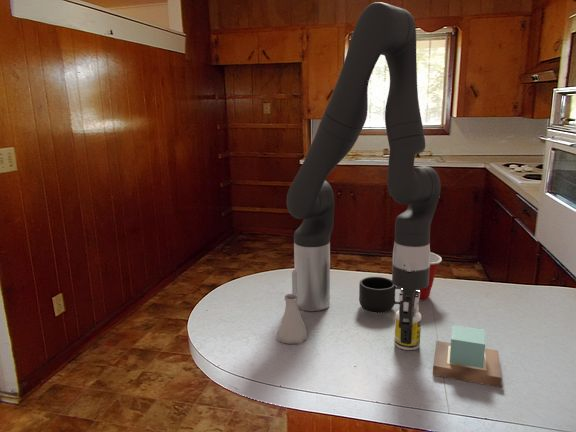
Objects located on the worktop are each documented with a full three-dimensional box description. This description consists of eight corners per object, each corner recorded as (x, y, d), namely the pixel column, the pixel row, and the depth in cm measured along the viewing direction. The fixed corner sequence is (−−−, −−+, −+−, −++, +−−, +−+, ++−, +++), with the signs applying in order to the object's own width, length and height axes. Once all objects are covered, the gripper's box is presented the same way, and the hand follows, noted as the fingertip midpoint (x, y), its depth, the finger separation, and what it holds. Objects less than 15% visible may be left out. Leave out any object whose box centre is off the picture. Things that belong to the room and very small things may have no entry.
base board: (432, 374, 87) (433, 365, 86) (435, 349, 96) (436, 340, 95) (500, 387, 82) (501, 377, 82) (497, 359, 91) (498, 349, 91)
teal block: (449, 362, 87) (451, 339, 86) (450, 347, 92) (452, 325, 91) (483, 368, 85) (485, 344, 84) (482, 352, 90) (484, 329, 89)
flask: (311, 331, 104) (311, 291, 102) (302, 347, 98) (302, 305, 95) (282, 327, 107) (281, 288, 104) (271, 342, 100) (270, 301, 98)
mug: (357, 314, 112) (357, 288, 111) (360, 299, 121) (361, 275, 119) (406, 319, 109) (407, 292, 108) (406, 303, 118) (407, 278, 116)
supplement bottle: (420, 352, 95) (423, 309, 92) (394, 349, 96) (396, 307, 93) (418, 339, 100) (421, 298, 98) (393, 337, 101) (395, 297, 99)
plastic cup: (444, 305, 117) (446, 261, 114) (401, 304, 117) (403, 261, 115) (434, 288, 127) (436, 248, 124) (395, 288, 128) (397, 248, 125)
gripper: (397, 250, 101) (395, 317, 105) (387, 272, 88) (385, 347, 92) (432, 253, 98) (428, 322, 102) (427, 276, 85) (423, 354, 89)
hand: (408, 334), depth 97 cm, fingers open, 7 cm apart
